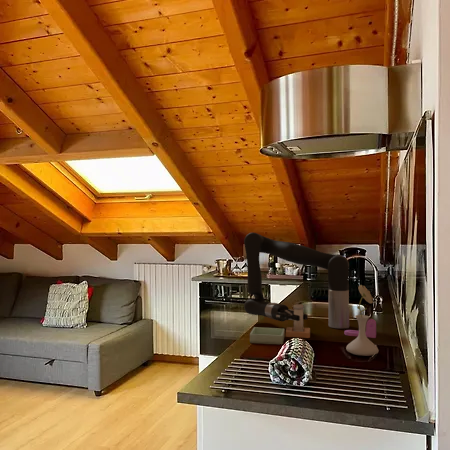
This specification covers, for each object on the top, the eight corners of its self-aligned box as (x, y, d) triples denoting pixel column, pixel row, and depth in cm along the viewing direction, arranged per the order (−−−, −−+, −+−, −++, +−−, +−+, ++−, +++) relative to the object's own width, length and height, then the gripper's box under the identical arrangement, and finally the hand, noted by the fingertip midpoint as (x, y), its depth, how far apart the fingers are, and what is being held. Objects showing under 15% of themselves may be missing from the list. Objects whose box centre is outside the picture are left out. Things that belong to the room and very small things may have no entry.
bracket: (376, 335, 196) (376, 319, 196) (375, 338, 191) (375, 321, 191) (345, 332, 200) (345, 316, 200) (343, 335, 195) (343, 319, 195)
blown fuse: (303, 332, 197) (303, 304, 197) (303, 334, 193) (303, 306, 193) (293, 331, 198) (293, 304, 198) (293, 333, 194) (293, 305, 194)
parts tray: (284, 336, 191) (284, 328, 191) (282, 344, 179) (282, 335, 179) (253, 335, 194) (253, 327, 194) (249, 342, 181) (249, 334, 181)
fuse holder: (310, 332, 200) (310, 328, 200) (309, 337, 190) (309, 333, 190) (287, 331, 202) (287, 327, 202) (285, 336, 192) (285, 331, 192)
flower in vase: (380, 359, 159) (380, 288, 159) (347, 357, 161) (347, 287, 162) (375, 349, 172) (376, 283, 172) (344, 347, 174) (345, 282, 174)
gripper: (264, 304, 204) (290, 310, 189) (288, 302, 212) (315, 307, 197) (264, 321, 204) (290, 328, 189) (288, 318, 212) (315, 324, 197)
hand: (302, 317), depth 194 cm, fingers closed on blown fuse, 4 cm apart
